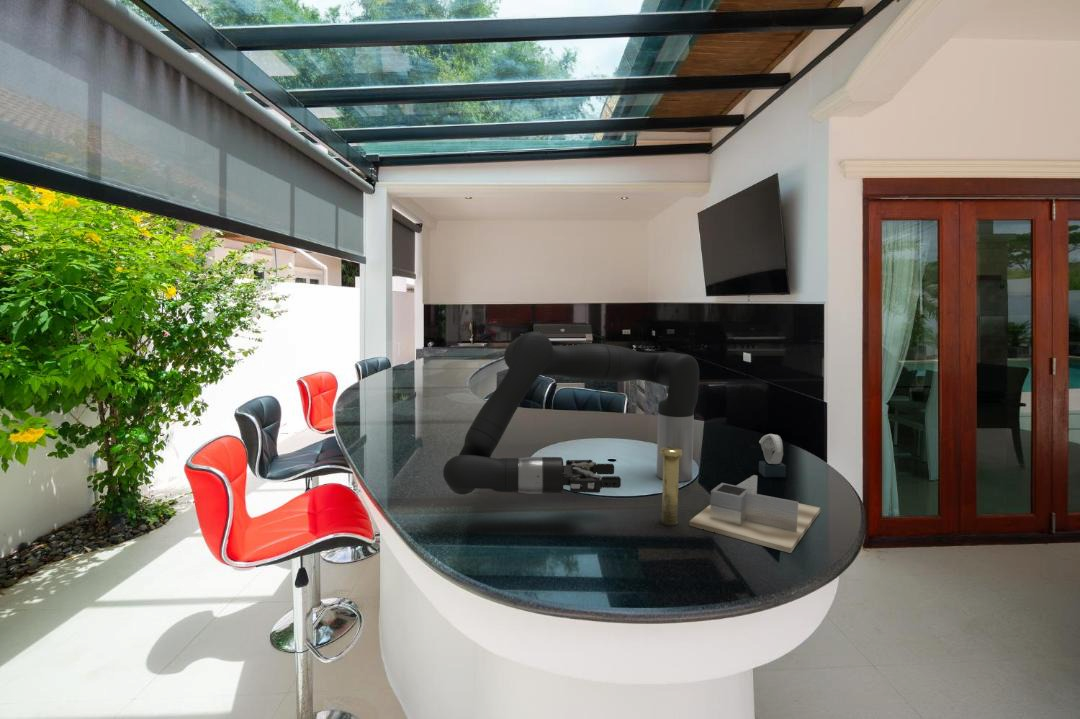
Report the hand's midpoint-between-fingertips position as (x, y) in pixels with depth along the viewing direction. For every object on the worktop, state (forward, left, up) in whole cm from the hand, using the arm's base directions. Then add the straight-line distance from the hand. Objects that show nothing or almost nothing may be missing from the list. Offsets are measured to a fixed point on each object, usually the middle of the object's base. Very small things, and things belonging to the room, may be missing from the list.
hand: (617, 475), depth 114 cm
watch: (-54, +17, -11) cm, 57 cm away
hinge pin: (-7, +9, -10) cm, 16 cm away
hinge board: (-21, +23, -10) cm, 33 cm away
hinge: (-21, +24, -9) cm, 33 cm away
